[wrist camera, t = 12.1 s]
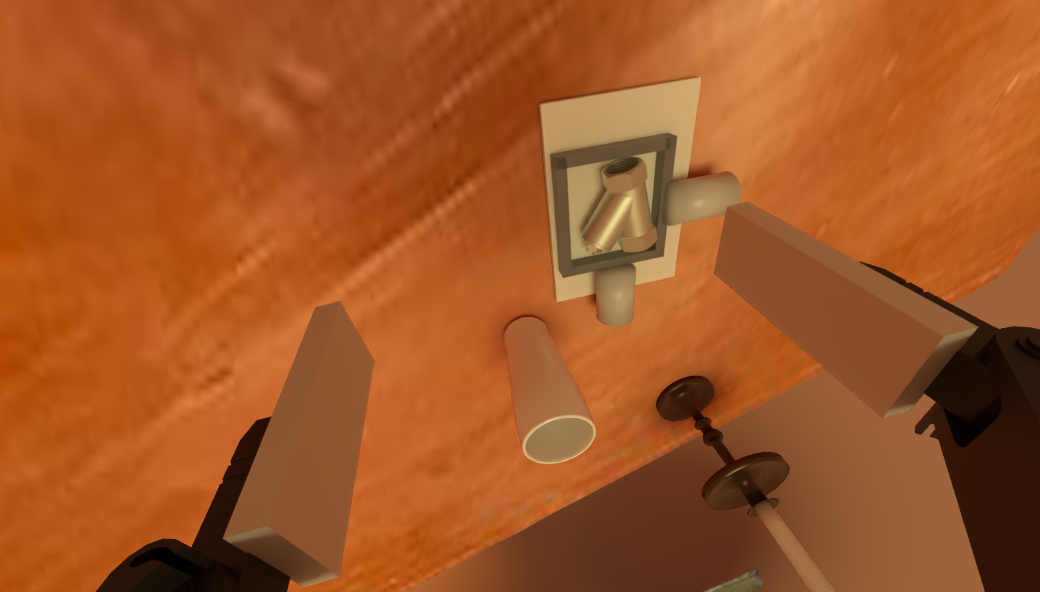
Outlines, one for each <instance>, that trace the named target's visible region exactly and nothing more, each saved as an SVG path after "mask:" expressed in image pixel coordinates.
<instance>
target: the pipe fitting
mask: <svg viewBox="0 0 1040 592" xmlns="http://www.w3.org/2000/svg"><path fill="white" fill-rule="evenodd" d="M601 175H602V179H603V183H604V186H605V188H606V189H607V191H606V193H605V194H604V196H603V198H602V199H601V201H600V203H599V205H598V206H597V208H596V210H595V211H594V213H593V215H592V217H591V218H590V220H589V222H588V223H587V225H586V227H585V229H584V230H583V232H582V234H581V235H582V237H583V239H584V240H585V242H584V244H585V246H586V247H587V248H586V252H587V253H589V254H591V255H594V254H595V253H601V252H602V251H607V252H609V251H611V249H612V248H613V246H614V245H615V243H616V242H617V243H618V244H619V246H620V248H621V249H622V250H623V251H624V252H639V251H643V250H646V249H648V248H649V247H651V246H652V245H653V244H654V243H655V242H656V240H657V239H658V238H657V231H656V227H655V226H654V224H653V223H652V219H651V213H650V207H649V201H648V195H647V189H646V183H645V181H646V180H647V178H648V174H647V168H646V163H645V162H644V161H643V160H642V159H641V158H639V157H628V158H623V159H620V160H617V161H614V162H612V163H610V164H609V165H607V166H606V167H605V168H604V169H603V170H602V171H601Z"/></svg>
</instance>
